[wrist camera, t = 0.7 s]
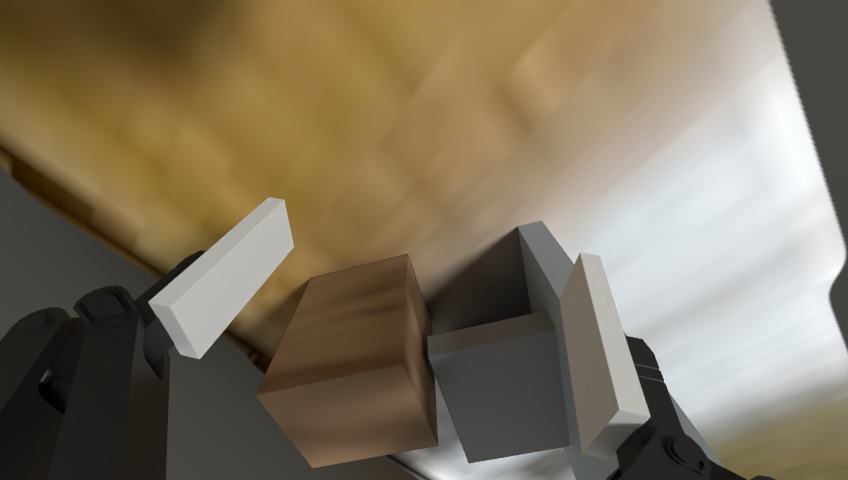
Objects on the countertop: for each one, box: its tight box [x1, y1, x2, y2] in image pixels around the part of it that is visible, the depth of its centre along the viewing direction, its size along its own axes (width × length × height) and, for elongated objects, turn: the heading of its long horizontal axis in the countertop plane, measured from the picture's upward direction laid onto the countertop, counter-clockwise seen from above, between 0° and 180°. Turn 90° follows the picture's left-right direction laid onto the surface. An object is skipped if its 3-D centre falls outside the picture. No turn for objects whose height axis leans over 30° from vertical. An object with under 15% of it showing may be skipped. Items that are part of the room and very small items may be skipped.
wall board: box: [427, 221, 724, 480], centre depth 23 cm, size 22×11×26 cm, turn 15°
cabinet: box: [256, 254, 438, 468], centre depth 27 cm, size 8×10×12 cm
